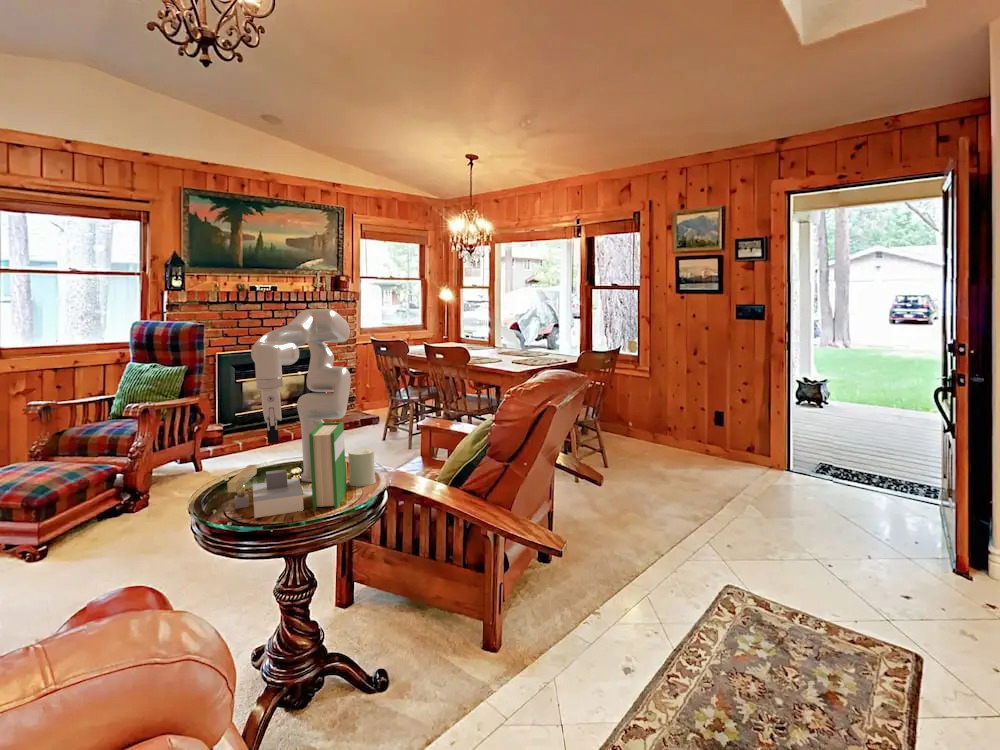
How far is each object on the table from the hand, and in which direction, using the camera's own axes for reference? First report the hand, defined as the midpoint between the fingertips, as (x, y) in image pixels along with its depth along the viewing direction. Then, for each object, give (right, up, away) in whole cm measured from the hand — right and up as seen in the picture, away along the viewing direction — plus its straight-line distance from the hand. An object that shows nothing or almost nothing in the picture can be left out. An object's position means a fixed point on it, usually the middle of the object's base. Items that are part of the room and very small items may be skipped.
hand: (273, 442), depth 176 cm
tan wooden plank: (-12, -17, +6) cm, 22 cm away
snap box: (-2, -21, +2) cm, 21 cm away
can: (+21, -18, +27) cm, 39 cm away
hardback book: (+15, -20, +9) cm, 27 cm away
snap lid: (+1, -16, +2) cm, 16 cm away
